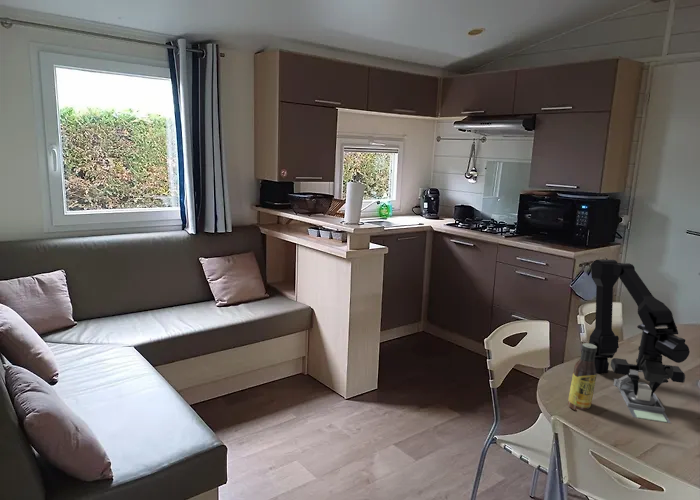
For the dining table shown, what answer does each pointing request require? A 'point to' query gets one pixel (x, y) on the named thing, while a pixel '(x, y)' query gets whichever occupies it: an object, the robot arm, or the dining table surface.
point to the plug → (642, 396)
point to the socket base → (643, 406)
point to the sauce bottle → (583, 379)
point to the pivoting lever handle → (622, 381)
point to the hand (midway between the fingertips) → (642, 395)
